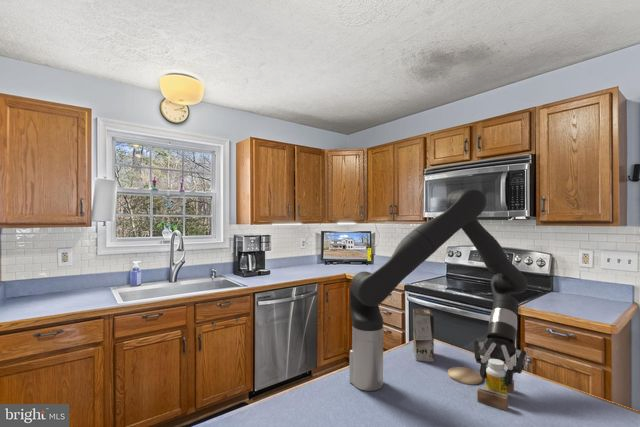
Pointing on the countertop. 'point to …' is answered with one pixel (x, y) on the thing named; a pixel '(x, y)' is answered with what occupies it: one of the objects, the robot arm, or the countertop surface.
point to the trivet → (465, 375)
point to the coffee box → (423, 334)
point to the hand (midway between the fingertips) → (495, 381)
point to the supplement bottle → (496, 376)
